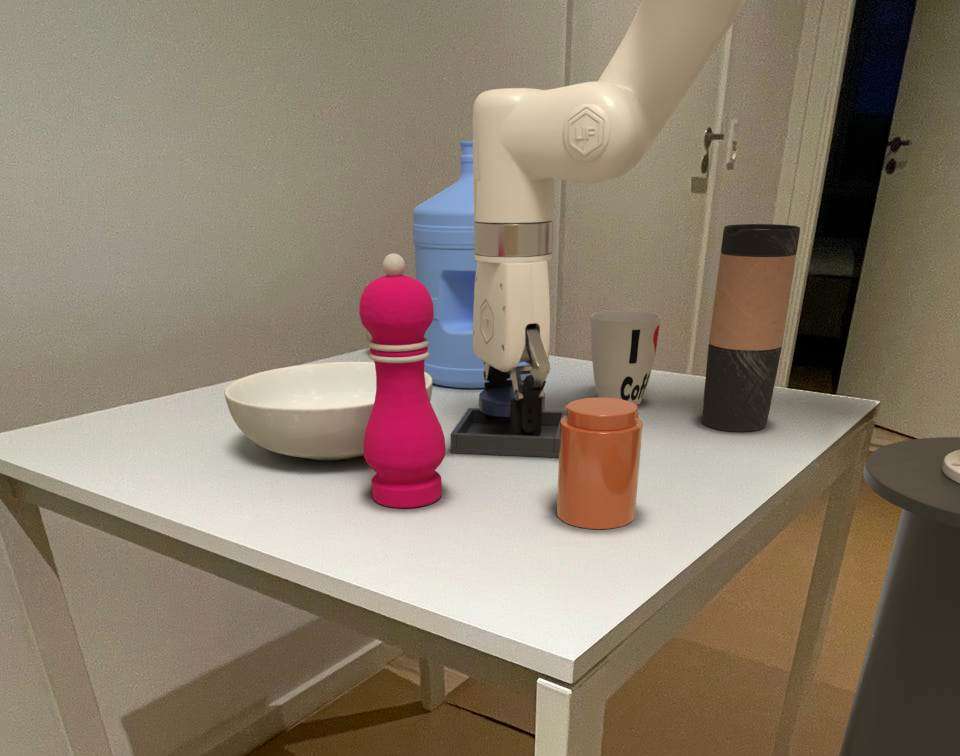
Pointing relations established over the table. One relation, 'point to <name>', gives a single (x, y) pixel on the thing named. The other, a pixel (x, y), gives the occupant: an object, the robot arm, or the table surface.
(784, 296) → the travel mug
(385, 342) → the pepper mill
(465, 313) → the water jug
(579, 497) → the jar
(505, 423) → the tray
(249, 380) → the serving bowl
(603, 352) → the cup
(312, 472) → the table surface
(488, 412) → the jar lid
